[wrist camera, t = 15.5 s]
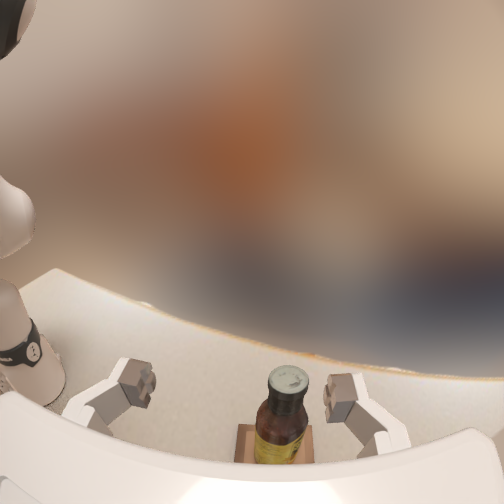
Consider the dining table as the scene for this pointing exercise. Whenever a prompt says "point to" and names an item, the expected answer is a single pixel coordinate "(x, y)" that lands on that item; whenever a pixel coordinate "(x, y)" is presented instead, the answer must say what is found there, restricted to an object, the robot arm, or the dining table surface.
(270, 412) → the sauce bottle
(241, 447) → the trivet
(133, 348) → the dining table surface
